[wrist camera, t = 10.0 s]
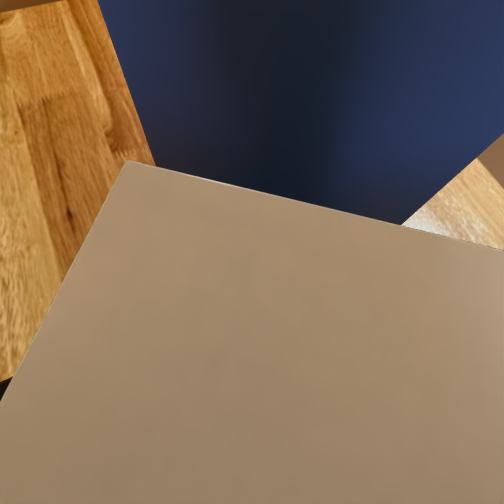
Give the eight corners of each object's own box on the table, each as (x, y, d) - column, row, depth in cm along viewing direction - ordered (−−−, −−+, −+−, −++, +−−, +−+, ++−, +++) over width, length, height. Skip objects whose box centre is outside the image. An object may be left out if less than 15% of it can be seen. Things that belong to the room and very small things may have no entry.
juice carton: (281, 407, 14) (590, 1078, 1) (196, 381, 14) (-179, 734, 2) (298, 317, 15) (518, 252, 3) (221, 297, 16) (125, 157, 3)
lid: (718, -57, 4) (600, -106, 6) (33, -177, 5) (130, -187, 7) (356, 265, 17) (354, 215, 19) (178, 230, 17) (196, 184, 19)
